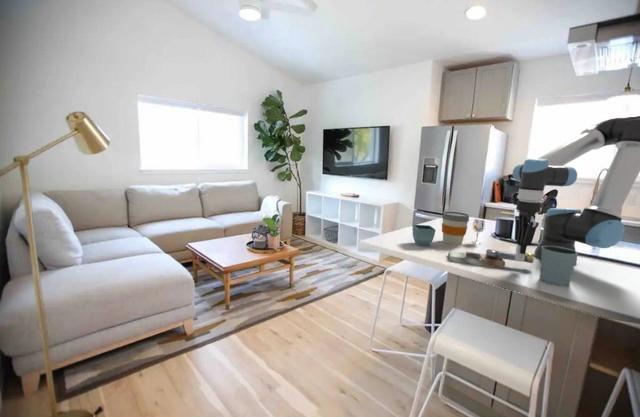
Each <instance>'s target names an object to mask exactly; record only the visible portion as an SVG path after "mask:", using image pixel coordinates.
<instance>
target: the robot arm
mask: <svg viewBox="0 0 640 417" xmlns="http://www.w3.org/2000/svg"><path fill="white" fill-rule="evenodd" d="M611 145H615V147H616V148H617V151H616V152H615V156H614V158H613V159H612V162H611V164H610V166H609V168H608V169H607V172H606V174H605V176H604V178H603V179H602V182H601V184H600V186H599V188H598V191H597V192H596V194H595V196H594V198H593V201H592V203H591V204H590V205H589V206H587V207H584V208H583V210H582V209H578V208H577V209H576V208H561V207H559V208H557V207H552V208H548V209H547V211H546V214H545V216H544V218H545V219H544V224H543V230H542V236H541V240H540V241H539V244H538V245H537V246H536V248H535V249H534V253H533V254H534V257H536V258H539V259H540V260H541V248H542V246H558V247H564V248H568V249H572V250H574V251H576V242H577V243H581V244H584V245H586V246H589V247H593V248H599V249H609V248H611V247H614V246H615V245H617V244H618V243H620V241H621V240H622V238H624V235H625V233H626V232H625V231H626V230H625V229H626V228H625V225H624V223H623V222H622V220H623V217H622V215H621V214H620V212H621V210H622V208H623V206H624V204H625V202H626V200H627V198H628V196H629V194H630V192H631V190H632V188H633V186H634V184H635V182H636V181H637V178H638V176H639V174H640V112H639V113H631V114H620V115H615V116H612V117H609V118H607V119H604V120H602V121H600V122H597V123H595V124H593V125H591V126H590V127H588V128H585V129H584V130H582V132H581V133H580V135H578V136H575V138H572V139H571V140H569V141H567V142H564V144H562V145H560V146H558V147H557V148H555V149H553V150H551V151H549V152H547V153H546V154H543V155H541V156H540V157H539V158H536V159H535V158H534V159H532V158H531V159H530V158H529V159H525V160H524V162H523V163H521V164H518V165H516V166H515V167H514V168H513V170H512V174H511V175H512V177H513V179H514V180H515V181H516V182H520V183H519V188H518V193H517V199H518V200H517V202H516V208H515V209H516V210H517V211H518V212H519V213H518V215H515V217H514V221H515V222H514V223H515V225H514V241H516V248H515V250H516V251H515V253H516V255H515V260H516V261H515V262H522V263H523V262H524V259H525V253H526V251H527V247H528V246H531V245H532V242H533V239H534V237H535V234H536V230H537V228H538V226H539V224H540V223H539V222H537V221H536V214H537V213H540V212H541V209H542V208H541V207H542V202H541V201H543V196H544V195H545V193H544V190H545V187H546V186H551V187H560V188H562V187H569V186H572V185H573V184H575V182H576V181H577V178H578V172H577V170H576V169H575V168H574V167H572V166H568V165H567V164H568V163H570V162H572V161H574V160H576V159H578V158H579V157H581V156H583V155H585V154H587V153H589V152H591V151H593V150H599V149H602V148H603V147H607V146H611ZM576 252H577V251H576ZM577 261H578V257H577V258H576V262H575V264H577ZM524 263H525V262H524Z"/></svg>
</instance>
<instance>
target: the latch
mask: <svg viewBox="0 0 640 417" xmlns="http://www.w3.org/2000/svg"><path fill="white" fill-rule="evenodd" d="M485 252H486V253H485V254H486V256H487V257H489V258H499V259H503V260H509V261H515V262H517V261H516V260H515V255H516V252H510V251H501V250H495V249H486V251H485ZM534 259H535V255H534V253H532V252H526V253H525V259H524V263H529V264H533V263H534Z"/></svg>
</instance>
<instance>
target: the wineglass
mask: <svg viewBox="0 0 640 417" xmlns="http://www.w3.org/2000/svg"><path fill="white" fill-rule="evenodd" d="M485 228H486V222H485V220H483V219H474V220H473V222H472V226H471V229H472V230H473V231H474V232H475V233H476V239H475V241H471V244H475V245H481V244H482V243H481V242H479V240H478V238H479V237H478V236H479V234H480V233H483V232H484V231H485Z"/></svg>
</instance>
